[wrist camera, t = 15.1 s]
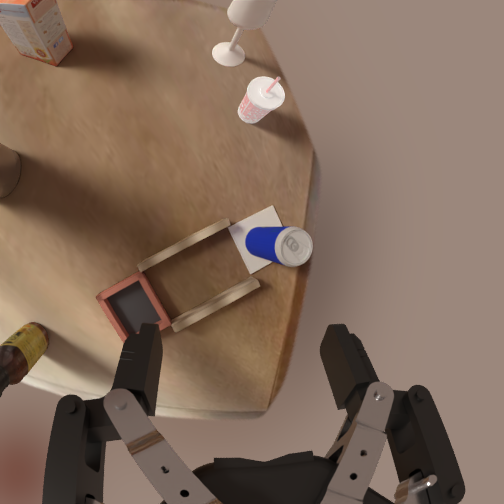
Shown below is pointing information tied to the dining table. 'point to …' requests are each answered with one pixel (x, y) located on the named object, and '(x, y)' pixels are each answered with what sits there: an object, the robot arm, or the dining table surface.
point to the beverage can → (280, 244)
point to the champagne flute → (242, 28)
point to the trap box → (133, 305)
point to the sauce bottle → (21, 353)
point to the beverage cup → (261, 99)
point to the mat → (242, 228)
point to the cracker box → (36, 29)
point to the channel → (214, 302)
